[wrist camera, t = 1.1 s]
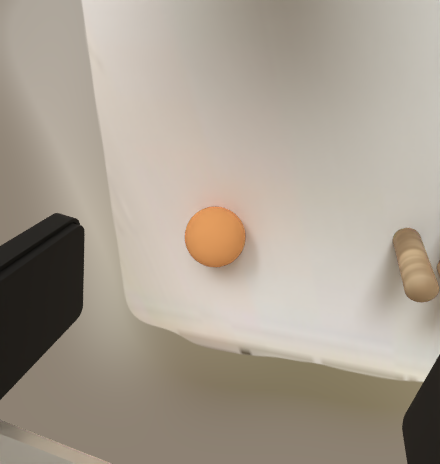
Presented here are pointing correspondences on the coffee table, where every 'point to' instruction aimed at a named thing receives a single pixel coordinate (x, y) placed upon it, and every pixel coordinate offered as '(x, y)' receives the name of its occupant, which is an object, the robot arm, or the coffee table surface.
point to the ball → (215, 236)
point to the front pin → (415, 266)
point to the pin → (438, 267)
